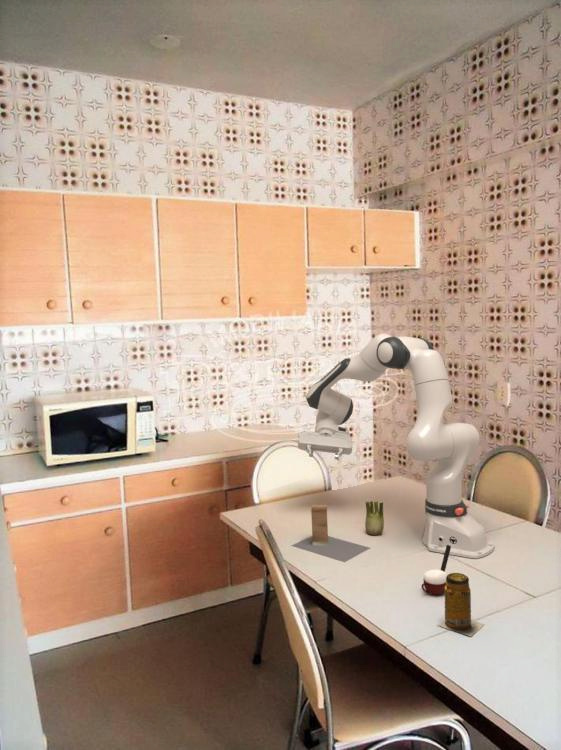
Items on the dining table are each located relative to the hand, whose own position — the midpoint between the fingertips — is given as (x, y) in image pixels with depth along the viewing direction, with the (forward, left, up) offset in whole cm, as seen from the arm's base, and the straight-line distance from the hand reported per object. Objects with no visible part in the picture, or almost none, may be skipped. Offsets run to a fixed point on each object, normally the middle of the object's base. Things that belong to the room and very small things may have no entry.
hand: (323, 456), depth 219 cm
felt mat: (-16, +18, -24) cm, 35 cm away
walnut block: (-11, +17, -24) cm, 32 cm away
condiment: (-71, +37, -25) cm, 84 cm away
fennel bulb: (-21, 0, -25) cm, 33 cm away
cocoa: (-58, +25, -25) cm, 68 cm away
